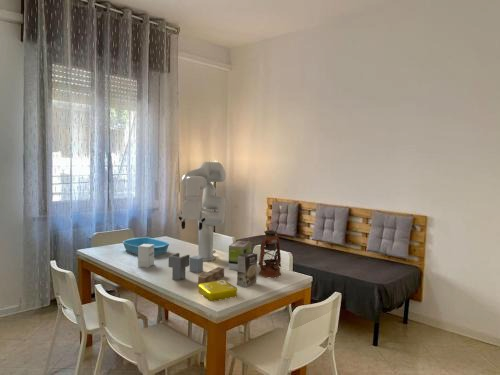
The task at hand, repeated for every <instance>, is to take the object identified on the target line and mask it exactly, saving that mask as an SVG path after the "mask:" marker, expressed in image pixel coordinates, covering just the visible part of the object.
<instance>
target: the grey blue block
mask: <svg viewBox="0 0 500 375" xmlns="http://www.w3.org/2000/svg"><path fill="white" fill-rule="evenodd" d="M203 270H204V261H203V257H199V256H198V255H194V256H191V257H190V258H189V272H192V273H197V274H199V273H201V272H203Z"/></svg>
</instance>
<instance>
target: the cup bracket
mask: <svg viewBox="0 0 500 375" xmlns="http://www.w3.org/2000/svg"><path fill="white" fill-rule="evenodd" d="M180 255H181V254H180V253H179V252H176V253H173V254H170V255H169V256H168V268H172V270H171V271H172V277H171V278H172V280H174V281H182V280H184V279H186V267H190V256H191V255H190V254H185V255H183V256H180Z"/></svg>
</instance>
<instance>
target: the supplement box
mask: <svg viewBox="0 0 500 375" xmlns="http://www.w3.org/2000/svg"><path fill="white" fill-rule="evenodd" d="M153 265H155V256H154V244H142V245H140V246H138V254H137V267H139V268H150V267H152V266H153Z"/></svg>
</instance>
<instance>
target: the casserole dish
mask: <svg viewBox="0 0 500 375" xmlns="http://www.w3.org/2000/svg"><path fill="white" fill-rule="evenodd" d="M122 244H123V246H124V249H125V251H127V252H130V253H132V254H135V255H138V246H140V245H142V244H154V257H155V256H159V255H163V254H165V253H166V252H167V251H168V249H169V246H170V243H169V242H167V241H163V240H160V239H158V238H157V239H156V238H154V237H143V236H142V237H132V238H128V239H125V240H122Z"/></svg>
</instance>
